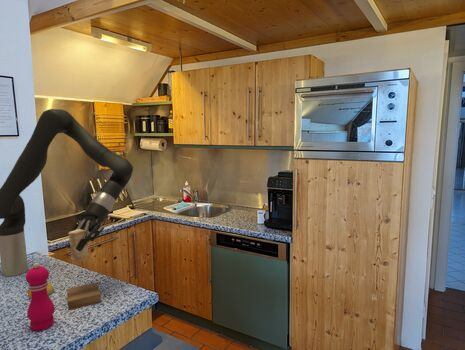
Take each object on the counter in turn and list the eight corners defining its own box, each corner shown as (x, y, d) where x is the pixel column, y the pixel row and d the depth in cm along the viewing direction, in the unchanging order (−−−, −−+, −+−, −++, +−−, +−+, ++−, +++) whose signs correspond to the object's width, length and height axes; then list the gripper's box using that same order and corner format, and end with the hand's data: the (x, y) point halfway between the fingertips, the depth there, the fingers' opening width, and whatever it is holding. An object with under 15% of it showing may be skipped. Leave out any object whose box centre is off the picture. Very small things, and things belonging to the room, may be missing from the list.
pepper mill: (36, 318, 105) (29, 258, 102) (59, 317, 105) (54, 257, 102) (23, 332, 97) (16, 268, 95) (49, 331, 98) (42, 266, 95)
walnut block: (67, 296, 118) (66, 289, 118) (97, 290, 123) (96, 282, 122) (68, 310, 109) (68, 301, 109) (101, 302, 114) (100, 293, 114)
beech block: (71, 260, 115) (68, 232, 113) (81, 256, 118) (79, 229, 117) (78, 262, 113) (75, 233, 111) (88, 257, 116) (86, 230, 115)
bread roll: (31, 302, 115) (29, 291, 114) (26, 293, 122) (25, 282, 121) (57, 294, 120) (56, 284, 120) (51, 285, 127) (50, 276, 126)
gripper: (81, 199, 123) (53, 241, 114) (107, 203, 115) (79, 247, 107) (94, 210, 128) (69, 250, 119) (120, 214, 121) (94, 257, 112)
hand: (73, 249), depth 113 cm, fingers closed on beech block, 4 cm apart
